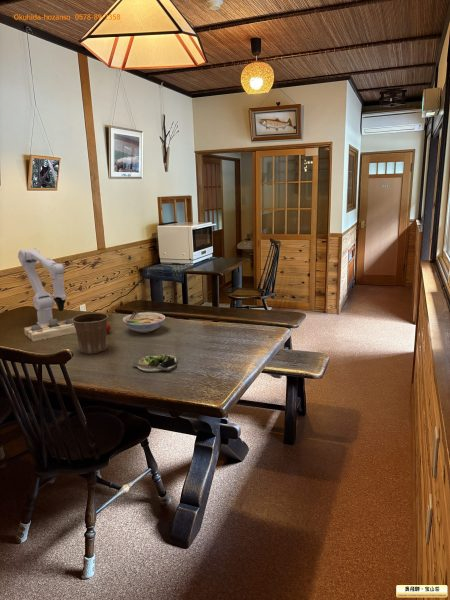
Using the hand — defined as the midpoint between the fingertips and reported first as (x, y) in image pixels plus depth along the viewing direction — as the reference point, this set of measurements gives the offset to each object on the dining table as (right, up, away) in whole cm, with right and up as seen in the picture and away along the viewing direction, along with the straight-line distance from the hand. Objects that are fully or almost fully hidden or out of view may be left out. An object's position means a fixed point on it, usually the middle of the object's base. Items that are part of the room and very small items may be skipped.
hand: (61, 310), depth 237 cm
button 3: (+4, -10, +3) cm, 11 cm away
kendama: (+22, -13, -9) cm, 27 cm away
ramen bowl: (+46, -11, -1) cm, 48 cm away
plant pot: (+27, -18, -30) cm, 44 cm away
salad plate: (+61, -23, -49) cm, 81 cm away
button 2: (-3, -9, -3) cm, 10 cm away
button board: (-2, -12, -4) cm, 13 cm away
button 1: (-9, -12, -9) cm, 18 cm away
